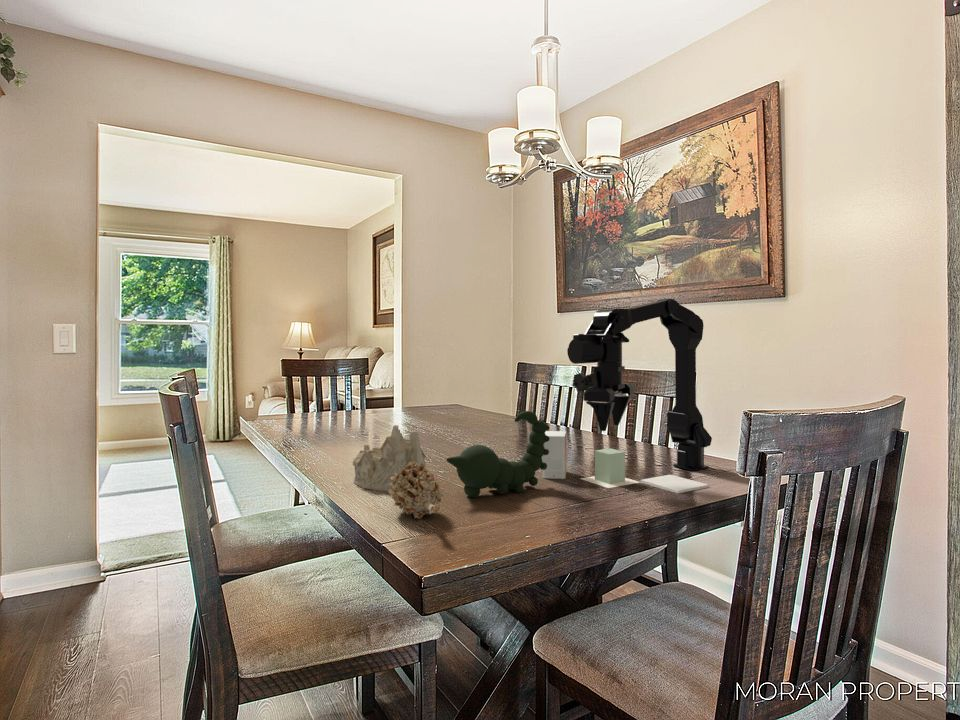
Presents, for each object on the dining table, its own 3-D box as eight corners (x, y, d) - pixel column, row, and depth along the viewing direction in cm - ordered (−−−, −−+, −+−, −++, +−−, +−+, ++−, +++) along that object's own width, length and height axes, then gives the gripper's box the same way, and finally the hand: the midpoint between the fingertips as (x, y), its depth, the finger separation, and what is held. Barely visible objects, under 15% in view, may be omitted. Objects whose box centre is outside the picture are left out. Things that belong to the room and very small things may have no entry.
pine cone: (380, 507, 115) (379, 459, 115) (424, 501, 120) (424, 454, 119) (418, 542, 96) (417, 484, 95) (469, 533, 100) (469, 477, 100)
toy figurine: (529, 488, 135) (434, 493, 123) (535, 409, 135) (440, 406, 123) (553, 497, 127) (453, 504, 115) (559, 413, 127) (460, 411, 115)
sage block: (610, 476, 139) (610, 448, 138) (625, 481, 134) (625, 451, 134) (594, 479, 136) (594, 450, 136) (609, 484, 132) (609, 454, 131)
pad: (670, 476, 138) (670, 474, 138) (708, 487, 129) (708, 484, 129) (640, 482, 133) (640, 479, 133) (677, 493, 124) (677, 490, 124)
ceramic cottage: (440, 479, 137) (435, 418, 136) (386, 497, 125) (380, 429, 124) (398, 473, 147) (393, 416, 147) (345, 489, 135) (339, 427, 135)
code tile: (611, 474, 142) (611, 473, 142) (640, 483, 133) (640, 482, 133) (579, 480, 137) (579, 478, 137) (608, 489, 128) (608, 488, 128)
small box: (565, 479, 136) (565, 436, 136) (542, 478, 137) (542, 435, 137) (567, 471, 144) (567, 430, 144) (545, 471, 145) (544, 430, 145)
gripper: (591, 359, 145) (591, 420, 146) (561, 363, 130) (562, 431, 130) (634, 360, 140) (634, 423, 140) (608, 364, 124) (609, 435, 124)
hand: (609, 427), depth 134 cm, fingers open, 9 cm apart
